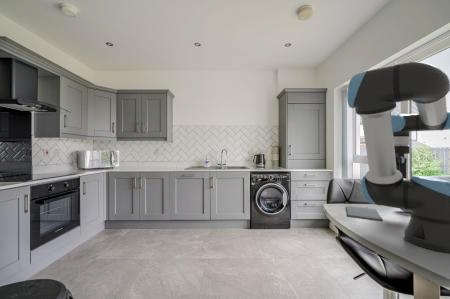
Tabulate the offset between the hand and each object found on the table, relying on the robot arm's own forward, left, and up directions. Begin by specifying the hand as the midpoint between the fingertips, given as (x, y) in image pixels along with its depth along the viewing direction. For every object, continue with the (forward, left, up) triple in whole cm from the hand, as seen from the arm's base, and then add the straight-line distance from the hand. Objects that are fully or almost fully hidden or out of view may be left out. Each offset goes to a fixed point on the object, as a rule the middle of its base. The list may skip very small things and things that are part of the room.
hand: (399, 192), depth 104 cm
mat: (0, +15, -12) cm, 19 cm away
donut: (+15, -7, -13) cm, 21 cm away
